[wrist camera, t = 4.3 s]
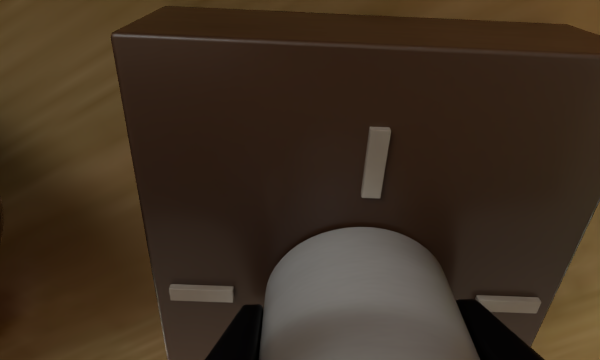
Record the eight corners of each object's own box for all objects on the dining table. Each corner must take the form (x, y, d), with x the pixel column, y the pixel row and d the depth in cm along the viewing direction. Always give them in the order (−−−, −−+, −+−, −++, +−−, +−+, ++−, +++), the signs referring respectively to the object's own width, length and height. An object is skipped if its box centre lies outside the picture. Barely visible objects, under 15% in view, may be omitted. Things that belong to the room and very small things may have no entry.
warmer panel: (456, 351, 15) (490, 445, 12) (200, 342, 15) (177, 434, 12) (569, 23, 9) (678, 60, 7) (162, 5, 9) (103, 34, 7)
